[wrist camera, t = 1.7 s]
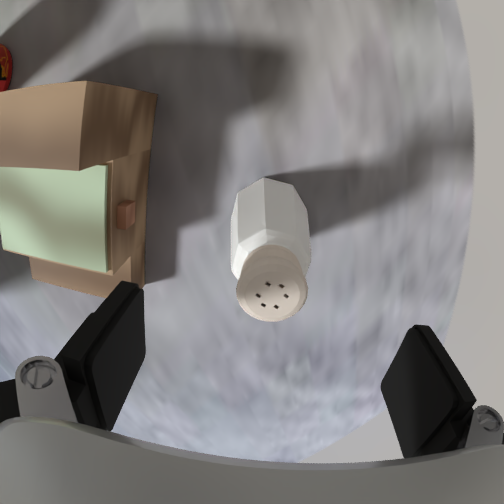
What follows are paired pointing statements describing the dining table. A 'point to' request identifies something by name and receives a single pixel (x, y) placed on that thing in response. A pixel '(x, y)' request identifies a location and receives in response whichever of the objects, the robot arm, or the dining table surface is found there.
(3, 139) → the stand
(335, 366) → the dining table surface
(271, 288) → the pepper shaker
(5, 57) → the canned food
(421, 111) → the dining table surface
